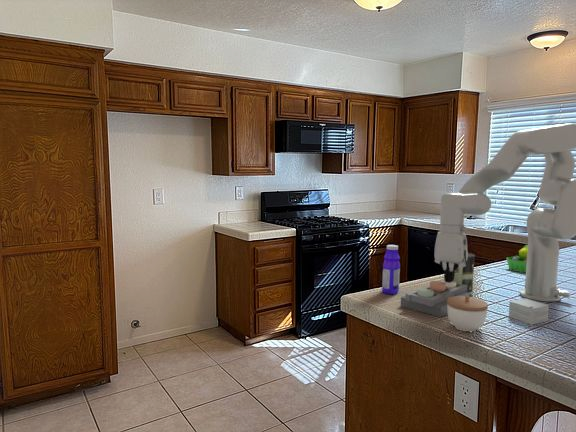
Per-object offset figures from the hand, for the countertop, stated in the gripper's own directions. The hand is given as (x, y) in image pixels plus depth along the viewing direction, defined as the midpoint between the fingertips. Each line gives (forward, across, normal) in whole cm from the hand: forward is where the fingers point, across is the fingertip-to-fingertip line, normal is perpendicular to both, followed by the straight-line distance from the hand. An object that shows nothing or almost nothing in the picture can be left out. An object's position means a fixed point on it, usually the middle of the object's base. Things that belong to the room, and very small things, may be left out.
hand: (449, 281), depth 147 cm
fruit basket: (+7, -3, -66) cm, 66 cm away
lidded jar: (+6, -16, +22) cm, 28 cm away
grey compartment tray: (+6, 0, +8) cm, 10 cm away
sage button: (+3, 0, +16) cm, 16 cm away
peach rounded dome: (+2, 0, +8) cm, 8 cm away
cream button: (+3, 0, 0) cm, 3 cm away
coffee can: (+7, +2, -12) cm, 14 cm away
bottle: (+6, +18, +8) cm, 21 cm away
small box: (+7, -26, 0) cm, 26 cm away
